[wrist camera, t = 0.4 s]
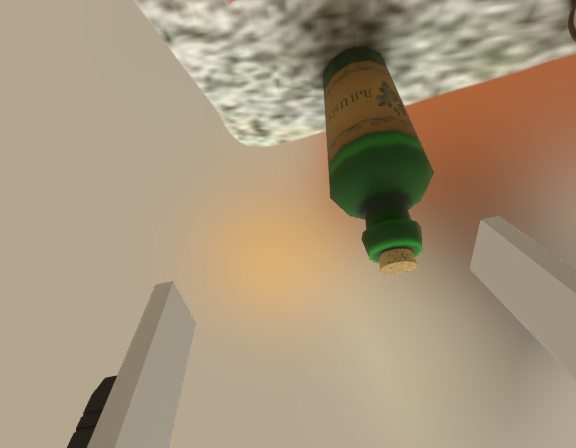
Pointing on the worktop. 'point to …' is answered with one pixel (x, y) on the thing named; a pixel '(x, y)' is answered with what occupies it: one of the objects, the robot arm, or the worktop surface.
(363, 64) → the bottle
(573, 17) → the tin
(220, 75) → the worktop surface
